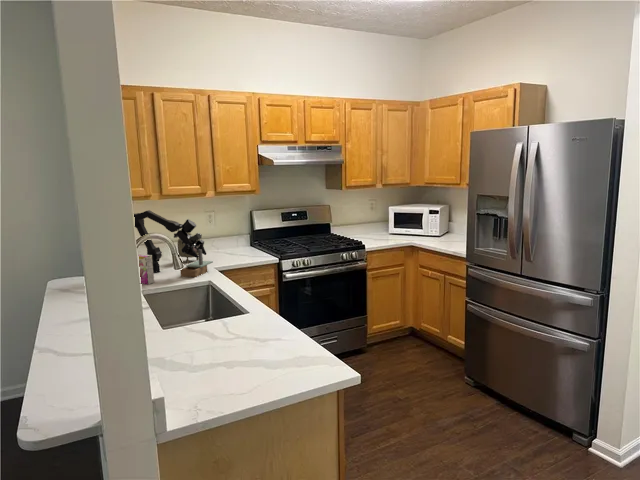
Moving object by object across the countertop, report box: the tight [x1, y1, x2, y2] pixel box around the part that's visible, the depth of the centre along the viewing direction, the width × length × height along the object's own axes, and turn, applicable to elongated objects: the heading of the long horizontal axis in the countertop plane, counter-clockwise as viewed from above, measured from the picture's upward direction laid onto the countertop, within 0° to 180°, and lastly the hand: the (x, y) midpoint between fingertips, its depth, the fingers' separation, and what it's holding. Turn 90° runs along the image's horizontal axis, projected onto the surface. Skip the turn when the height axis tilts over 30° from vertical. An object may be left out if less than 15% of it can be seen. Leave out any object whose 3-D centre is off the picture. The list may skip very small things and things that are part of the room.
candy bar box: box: [137, 253, 155, 285], centre depth 249 cm, size 11×5×16 cm, turn 65°
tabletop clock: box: [177, 232, 201, 264], centre depth 305 cm, size 14×9×25 cm, turn 158°
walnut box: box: [179, 265, 208, 278], centre depth 267 cm, size 14×10×4 cm
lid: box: [185, 249, 214, 267], centre depth 273 cm, size 14×10×10 cm
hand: (202, 256), depth 268 cm, fingers open, 9 cm apart
